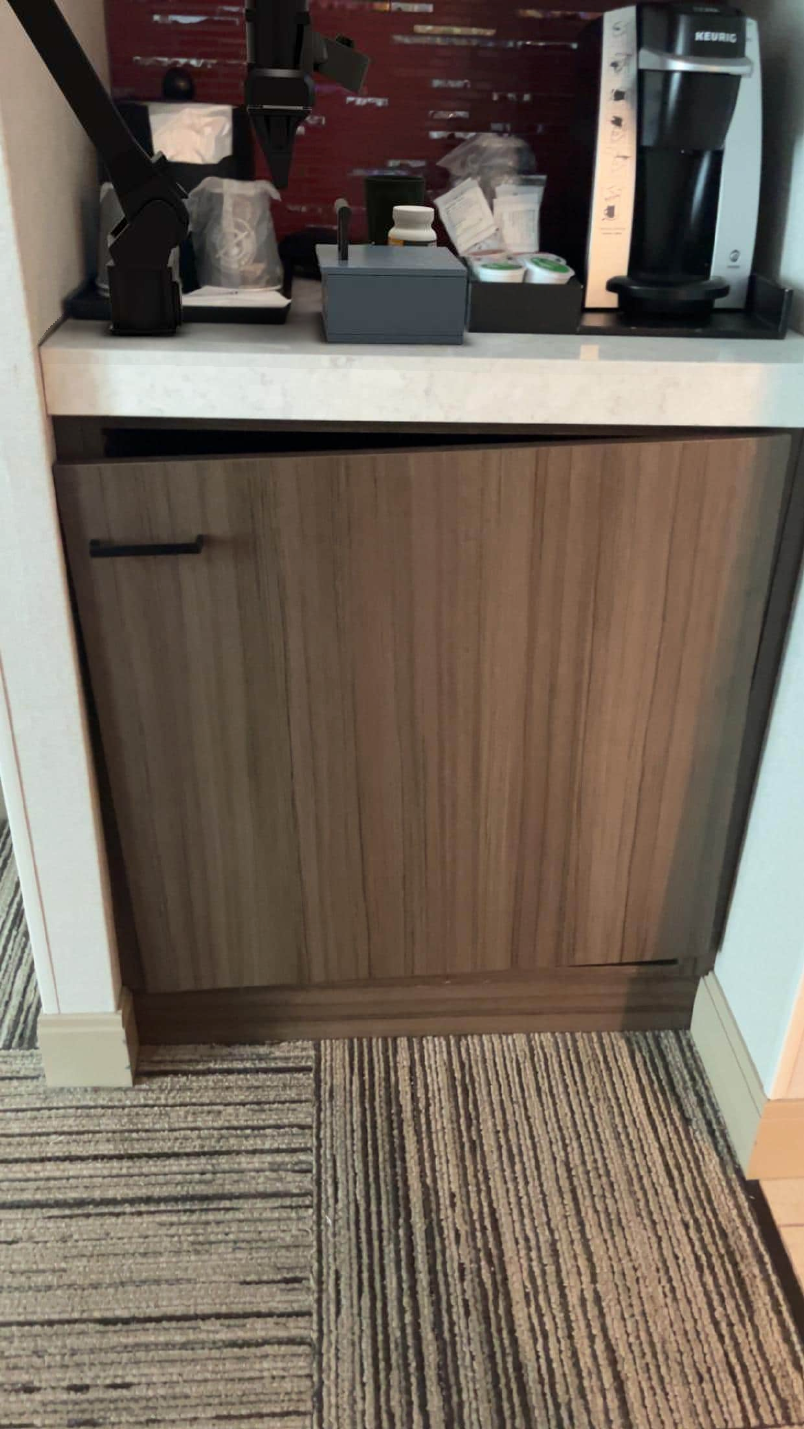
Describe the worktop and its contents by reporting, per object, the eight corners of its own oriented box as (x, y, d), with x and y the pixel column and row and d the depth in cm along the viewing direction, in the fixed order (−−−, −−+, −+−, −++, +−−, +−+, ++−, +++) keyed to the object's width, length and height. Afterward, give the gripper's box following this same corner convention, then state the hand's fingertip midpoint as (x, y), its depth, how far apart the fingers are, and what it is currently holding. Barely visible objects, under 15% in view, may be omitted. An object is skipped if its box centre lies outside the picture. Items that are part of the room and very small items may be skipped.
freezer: (327, 342, 105) (327, 274, 102) (321, 313, 118) (321, 251, 114) (462, 344, 107) (466, 277, 104) (443, 315, 119) (446, 254, 116)
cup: (360, 285, 133) (361, 179, 127) (364, 275, 140) (365, 173, 133) (421, 288, 133) (425, 181, 127) (422, 278, 140) (426, 176, 133)
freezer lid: (321, 274, 102) (320, 210, 99) (315, 251, 114) (315, 193, 111) (466, 276, 103) (470, 213, 101) (446, 254, 116) (449, 197, 113)
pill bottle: (380, 302, 124) (382, 208, 119) (392, 293, 129) (395, 203, 124) (428, 306, 123) (432, 212, 118) (438, 297, 128) (442, 206, 123)
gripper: (373, -4, 89) (370, 201, 97) (358, 6, 105) (356, 181, 113) (239, -10, 88) (247, 198, 96) (244, 1, 104) (251, 179, 112)
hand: (281, 188), depth 104 cm, fingers closed
